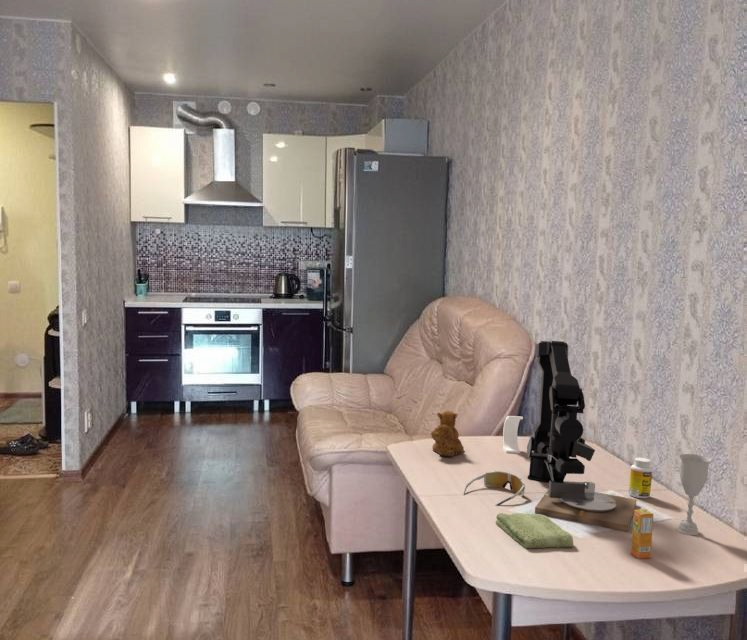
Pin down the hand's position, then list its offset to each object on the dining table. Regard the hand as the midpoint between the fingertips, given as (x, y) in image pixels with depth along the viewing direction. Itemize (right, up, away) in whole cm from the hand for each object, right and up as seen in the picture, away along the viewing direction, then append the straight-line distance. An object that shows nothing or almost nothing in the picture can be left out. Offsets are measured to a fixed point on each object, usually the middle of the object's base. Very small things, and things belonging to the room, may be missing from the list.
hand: (557, 489), depth 194 cm
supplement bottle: (+25, -5, +12) cm, 28 cm away
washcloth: (-11, -6, -22) cm, 25 cm away
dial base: (+7, -5, -2) cm, 9 cm away
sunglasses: (-15, -3, +5) cm, 17 cm away
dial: (+6, -3, -2) cm, 7 cm away
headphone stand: (-3, +1, +52) cm, 52 cm away
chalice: (+28, -7, -13) cm, 32 cm away
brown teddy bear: (-25, +1, +43) cm, 50 cm away
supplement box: (+10, -8, -31) cm, 33 cm away
